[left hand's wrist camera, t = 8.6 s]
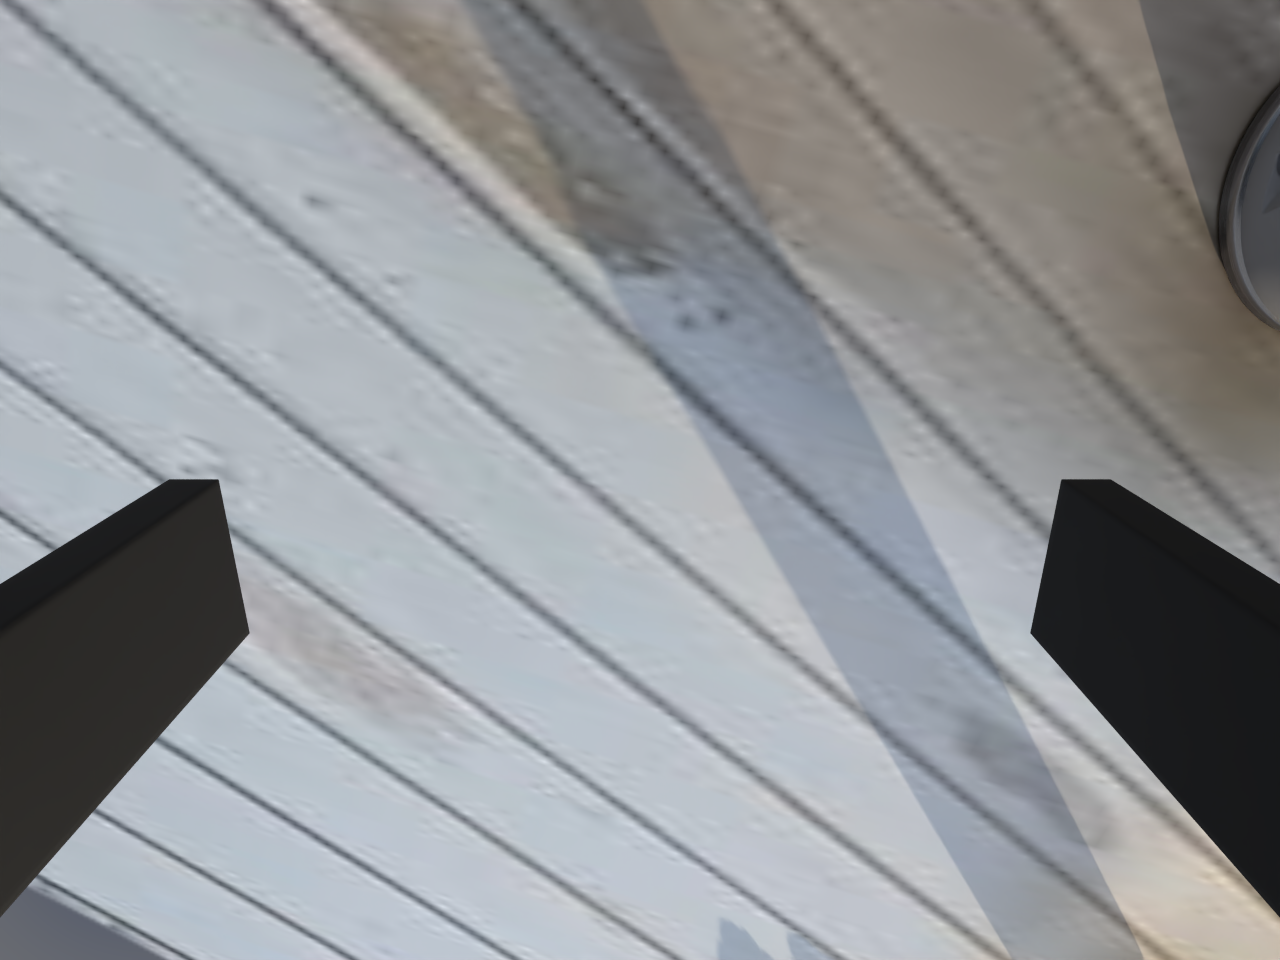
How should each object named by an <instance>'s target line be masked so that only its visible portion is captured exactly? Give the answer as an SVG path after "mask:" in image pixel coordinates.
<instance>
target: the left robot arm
mask: <svg viewBox="0 0 1280 960" xmlns="http://www.w3.org/2000/svg"><path fill="white" fill-rule="evenodd" d="M1219 242H1220V249H1221V256H1222V260H1223V264H1224V268H1225V270H1226V273H1227V276H1228V278H1229V281H1230V283H1231V285H1232V286H1233V288H1234V290H1235V292H1236V294H1237V295H1238V297H1239V298H1240V299H1241V301H1242V302H1243V303H1244V305H1245V306H1246V307H1247V308H1248V309H1249V310H1250V311H1251V312H1252V313H1253V314H1254V315H1255V316H1256V317H1258V318H1259V319H1260V320H1261V321H1263V322H1264V323H1266V324H1267V325H1269V326H1270V327H1272V328H1274V329H1276V330H1278V331H1280V86H1279V87H1278V88H1277V89H1276V90H1275V91H1274V93H1273V94H1272V95H1271V96H1270V97H1269V99H1268V100H1267V101H1266V103H1265V104H1264V105H1263V107H1262V108H1261V109H1260V111H1259V112H1258V113H1257V115H1256V117H1255V118H1254V120H1253V121H1252V123H1251V124H1250V126H1249V127H1248V129H1247V131H1246V133H1245V135H1244V137H1243V139H1242V140H1241V142H1240V144H1239V146H1238V149H1237V151H1236V153H1235V156H1234V158H1233V160H1232V163H1231V166H1230V169H1229V171H1228V174H1227V177H1226V181H1225V185H1224V189H1223V193H1222V199H1221V205H1220V214H1219ZM248 634H249V628H248V623H247V618H246V613H245V608H244V603H243V598H242V593H241V588H240V583H239V578H238V573H237V569H236V564H235V559H234V554H233V549H232V544H231V539H230V534H229V529H228V524H227V519H226V514H225V509H224V504H223V499H222V494H221V489H220V484H219V480H218V479H169V480H168V481H166V482H164V483H163V484H161V485H160V486H158V487H156V488H155V489H153V490H151V491H150V492H148V493H147V494H145V495H143V496H142V497H140V498H139V499H137V500H135V501H134V502H132V503H130V504H129V505H127V506H126V507H124V508H122V509H121V510H119V511H118V512H116V513H114V514H113V515H111V516H109V517H108V518H106V519H105V520H103V521H101V522H100V523H98V524H97V525H95V526H93V527H92V528H90V529H88V530H87V531H85V532H84V533H82V534H80V535H79V536H77V537H76V538H74V539H72V540H71V541H69V542H67V543H66V544H64V545H63V546H61V547H59V548H58V549H56V550H55V551H53V552H51V553H50V554H48V555H46V556H45V557H43V558H42V559H40V560H38V561H37V562H35V563H34V564H32V565H30V566H29V567H27V568H25V569H24V570H22V571H21V572H19V573H17V574H16V575H14V576H13V577H11V578H9V579H8V580H6V581H4V582H3V583H1V584H0V917H1V916H2V915H3V914H4V912H5V911H6V910H7V909H8V908H9V907H10V906H11V904H12V903H13V902H14V901H15V900H16V899H17V898H18V896H19V895H20V894H21V893H22V892H23V891H24V890H25V889H26V887H27V886H28V885H29V884H30V883H31V882H32V881H33V879H34V878H35V877H36V876H37V875H38V874H39V873H40V871H41V870H42V869H43V868H44V867H45V866H46V865H47V863H48V862H49V861H50V860H51V859H52V858H53V857H54V855H55V854H56V853H57V852H58V851H59V850H60V849H61V847H62V846H63V845H64V844H65V843H66V842H67V841H68V840H69V838H70V837H71V836H72V835H73V834H74V833H75V832H76V830H77V829H78V828H79V827H80V826H81V825H82V824H83V822H84V821H85V820H86V819H87V818H88V817H89V816H90V814H91V813H92V812H93V811H94V810H95V809H96V808H97V806H98V805H99V804H100V803H101V802H102V801H103V800H104V798H105V797H106V796H107V795H108V794H109V793H110V792H111V790H112V789H113V788H114V787H115V786H116V785H117V784H118V783H119V781H120V780H121V779H122V778H123V777H124V776H125V775H126V773H127V772H128V771H129V770H130V769H131V768H132V767H133V765H134V764H135V763H136V762H137V761H138V760H139V759H140V757H141V756H142V755H143V754H144V753H145V752H146V751H147V749H148V748H149V747H150V746H151V745H152V744H153V743H154V741H155V740H156V739H157V738H158V737H159V736H160V735H161V734H162V732H163V731H164V730H165V729H166V728H167V727H168V726H169V724H170V723H171V722H172V721H173V720H174V719H175V718H176V716H177V715H178V714H179V713H180V712H181V711H182V710H183V708H184V707H185V706H186V705H187V704H188V703H189V702H190V700H191V699H192V698H193V697H194V696H195V695H196V694H197V692H198V691H199V690H200V689H201V688H202V687H203V686H204V684H205V683H206V682H207V681H208V680H209V679H210V678H211V677H212V675H213V674H214V673H215V672H216V671H217V670H218V669H219V667H220V666H221V665H222V664H223V663H224V662H225V661H226V659H227V658H228V657H229V656H230V655H231V654H232V653H233V651H234V650H235V649H236V648H237V647H238V646H239V645H240V643H241V642H242V641H243V640H244V639H245V638H246V637H247V635H248ZM1031 634H1032V635H1033V637H1034V638H1035V639H1036V640H1037V641H1038V642H1039V643H1040V645H1041V646H1042V647H1043V648H1044V649H1045V650H1046V651H1047V653H1048V654H1049V655H1050V656H1051V657H1052V658H1053V659H1054V661H1055V662H1056V663H1057V664H1058V665H1059V666H1060V667H1061V669H1062V670H1063V671H1064V672H1065V673H1066V674H1067V675H1068V677H1069V678H1070V679H1071V680H1072V681H1073V682H1074V683H1075V685H1076V686H1077V687H1078V688H1079V689H1080V690H1081V691H1082V692H1083V694H1084V695H1085V696H1086V697H1087V698H1088V699H1089V700H1090V702H1091V703H1092V704H1093V705H1094V706H1095V707H1096V708H1097V710H1098V711H1099V712H1100V713H1101V714H1102V715H1103V716H1104V718H1105V719H1106V720H1107V721H1108V722H1109V723H1110V724H1111V726H1112V727H1113V728H1114V729H1115V730H1116V731H1117V732H1118V734H1119V735H1120V736H1121V737H1122V738H1123V739H1124V740H1125V741H1126V743H1127V744H1128V745H1129V746H1130V747H1131V748H1132V749H1133V751H1134V752H1135V753H1136V754H1137V755H1138V756H1139V757H1140V759H1141V760H1142V761H1143V762H1144V763H1145V764H1146V765H1147V767H1148V768H1149V769H1150V770H1151V771H1152V772H1153V773H1154V775H1155V776H1156V777H1157V778H1158V779H1159V780H1160V781H1161V783H1162V784H1163V785H1164V786H1165V787H1166V788H1167V789H1168V790H1169V792H1170V793H1171V794H1172V795H1173V796H1174V797H1175V798H1176V800H1177V801H1178V802H1179V803H1180V804H1181V805H1182V806H1183V808H1184V809H1185V810H1186V811H1187V812H1188V813H1189V814H1190V816H1191V817H1192V818H1193V819H1194V820H1195V821H1196V822H1197V824H1198V825H1199V826H1200V827H1201V828H1202V829H1203V830H1204V832H1205V833H1206V834H1207V835H1208V836H1209V837H1210V838H1211V840H1212V841H1213V842H1214V843H1215V844H1216V845H1217V846H1218V847H1219V849H1220V850H1221V851H1222V852H1223V853H1224V854H1225V855H1226V857H1227V858H1228V859H1229V860H1230V861H1231V862H1232V863H1233V865H1234V866H1235V867H1236V868H1237V869H1238V870H1239V871H1240V873H1241V874H1242V875H1243V876H1244V877H1245V878H1246V879H1247V881H1248V882H1249V883H1250V884H1251V885H1252V886H1253V887H1254V889H1255V890H1256V891H1257V892H1258V893H1259V894H1260V895H1261V896H1262V898H1263V899H1264V900H1265V901H1266V902H1267V903H1268V904H1269V906H1270V907H1271V908H1272V909H1273V910H1274V911H1275V912H1276V914H1277V915H1278V916H1279V917H1280V584H1279V583H1277V582H1276V581H1274V580H1272V579H1271V578H1269V577H1267V576H1266V575H1264V574H1263V573H1261V572H1259V571H1258V570H1256V569H1255V568H1253V567H1251V566H1250V565H1248V564H1246V563H1245V562H1243V561H1242V560H1240V559H1238V558H1237V557H1235V556H1234V555H1232V554H1230V553H1229V552H1227V551H1225V550H1224V549H1222V548H1221V547H1219V546H1217V545H1216V544H1214V543H1213V542H1211V541H1209V540H1208V539H1206V538H1204V537H1203V536H1201V535H1200V534H1198V533H1196V532H1195V531H1193V530H1192V529H1190V528H1188V527H1187V526H1185V525H1183V524H1182V523H1180V522H1179V521H1177V520H1175V519H1174V518H1172V517H1171V516H1169V515H1167V514H1166V513H1164V512H1162V511H1161V510H1159V509H1158V508H1156V507H1154V506H1153V505H1151V504H1150V503H1148V502H1146V501H1145V500H1143V499H1141V498H1140V497H1138V496H1137V495H1135V494H1133V493H1132V492H1130V491H1129V490H1127V489H1125V488H1124V487H1122V486H1120V485H1119V484H1117V483H1116V482H1114V481H1112V480H1111V479H1062V480H1061V484H1060V489H1059V494H1058V499H1057V504H1056V509H1055V514H1054V519H1053V524H1052V529H1051V534H1050V539H1049V544H1048V549H1047V554H1046V559H1045V564H1044V569H1043V573H1042V578H1041V583H1040V588H1039V593H1038V598H1037V603H1036V608H1035V613H1034V618H1033V623H1032V628H1031Z"/></svg>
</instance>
